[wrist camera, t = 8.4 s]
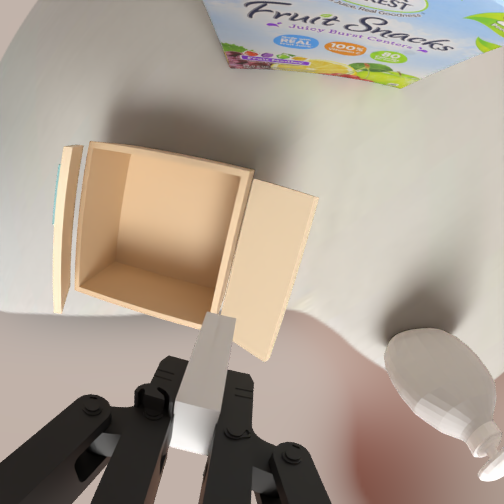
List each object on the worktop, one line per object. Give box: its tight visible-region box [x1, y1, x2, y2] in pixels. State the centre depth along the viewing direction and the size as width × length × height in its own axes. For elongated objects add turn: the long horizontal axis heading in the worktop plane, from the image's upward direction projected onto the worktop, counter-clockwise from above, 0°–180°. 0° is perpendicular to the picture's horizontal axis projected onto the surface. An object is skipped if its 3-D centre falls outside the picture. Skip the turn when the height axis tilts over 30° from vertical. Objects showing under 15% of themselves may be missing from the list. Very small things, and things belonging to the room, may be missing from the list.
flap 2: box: [221, 179, 319, 362], centre depth 27 cm, size 6×15×1 cm
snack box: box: [202, 0, 504, 89], centre depth 19 cm, size 22×9×26 cm, turn 87°
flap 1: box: [52, 145, 84, 314], centre depth 25 cm, size 6×15×1 cm
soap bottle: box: [384, 328, 504, 481], centre depth 28 cm, size 14×8×27 cm, turn 89°
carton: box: [75, 141, 255, 330], centre depth 33 cm, size 16×16×10 cm
